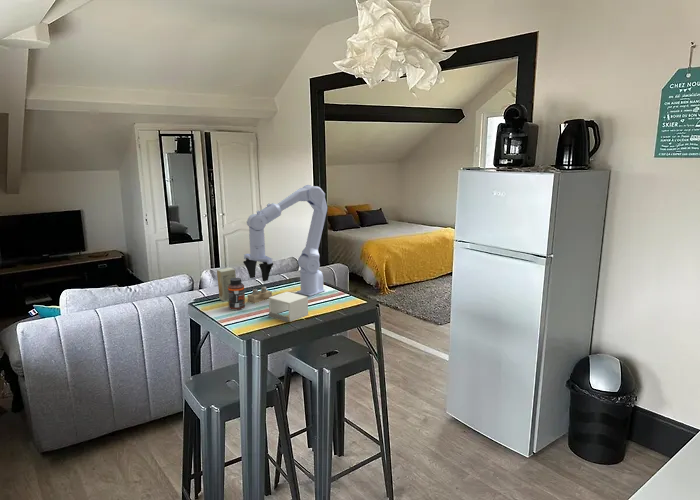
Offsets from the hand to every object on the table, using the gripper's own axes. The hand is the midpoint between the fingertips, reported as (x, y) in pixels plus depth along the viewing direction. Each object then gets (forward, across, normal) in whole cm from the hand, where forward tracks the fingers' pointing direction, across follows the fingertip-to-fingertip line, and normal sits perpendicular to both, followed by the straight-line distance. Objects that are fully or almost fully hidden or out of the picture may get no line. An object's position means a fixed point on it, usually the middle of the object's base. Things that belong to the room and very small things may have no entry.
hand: (258, 279), depth 190 cm
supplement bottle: (+9, +1, -12) cm, 15 cm away
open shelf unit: (+8, +22, -6) cm, 25 cm away
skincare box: (+9, -11, -7) cm, 16 cm away
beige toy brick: (+9, 0, 0) cm, 9 cm away
